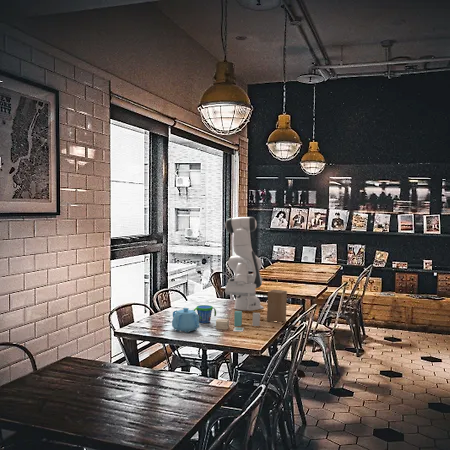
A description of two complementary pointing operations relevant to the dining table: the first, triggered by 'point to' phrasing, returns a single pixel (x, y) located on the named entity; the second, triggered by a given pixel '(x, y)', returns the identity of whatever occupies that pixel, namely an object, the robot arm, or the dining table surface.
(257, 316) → the grey block
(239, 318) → the teal block
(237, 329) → the tile
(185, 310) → the decorative pot
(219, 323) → the maple block
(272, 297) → the wooden block
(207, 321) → the snack cup
